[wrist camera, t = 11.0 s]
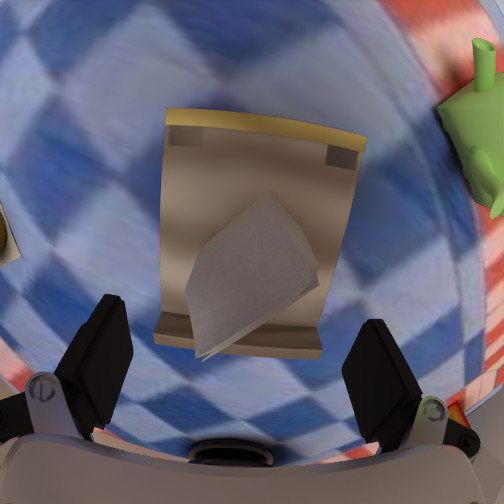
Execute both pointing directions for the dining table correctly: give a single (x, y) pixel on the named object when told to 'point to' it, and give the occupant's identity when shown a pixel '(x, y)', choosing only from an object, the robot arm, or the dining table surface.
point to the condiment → (4, 251)
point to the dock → (244, 195)
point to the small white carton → (248, 275)
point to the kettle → (480, 128)
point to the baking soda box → (457, 414)
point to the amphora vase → (230, 454)
